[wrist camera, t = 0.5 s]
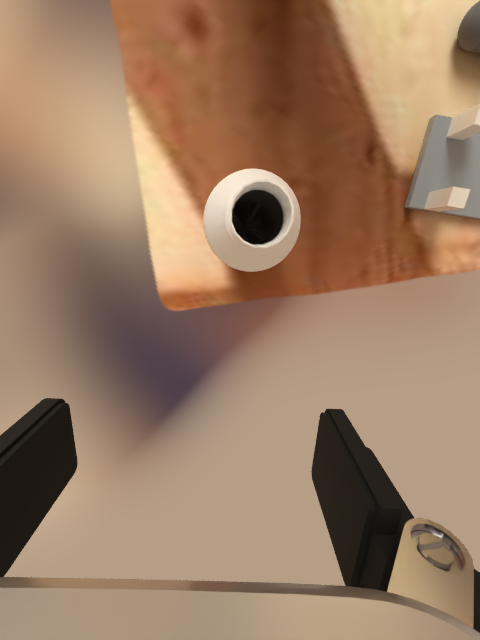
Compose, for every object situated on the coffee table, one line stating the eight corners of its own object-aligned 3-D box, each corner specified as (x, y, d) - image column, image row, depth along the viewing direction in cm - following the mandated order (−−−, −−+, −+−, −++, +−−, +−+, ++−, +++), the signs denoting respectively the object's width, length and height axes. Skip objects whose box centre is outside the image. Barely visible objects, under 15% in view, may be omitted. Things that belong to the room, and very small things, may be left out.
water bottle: (265, 261, 38) (316, 305, 14) (213, 250, 37) (172, 277, 13) (278, 205, 36) (362, 144, 12) (223, 193, 35) (195, 104, 11)
